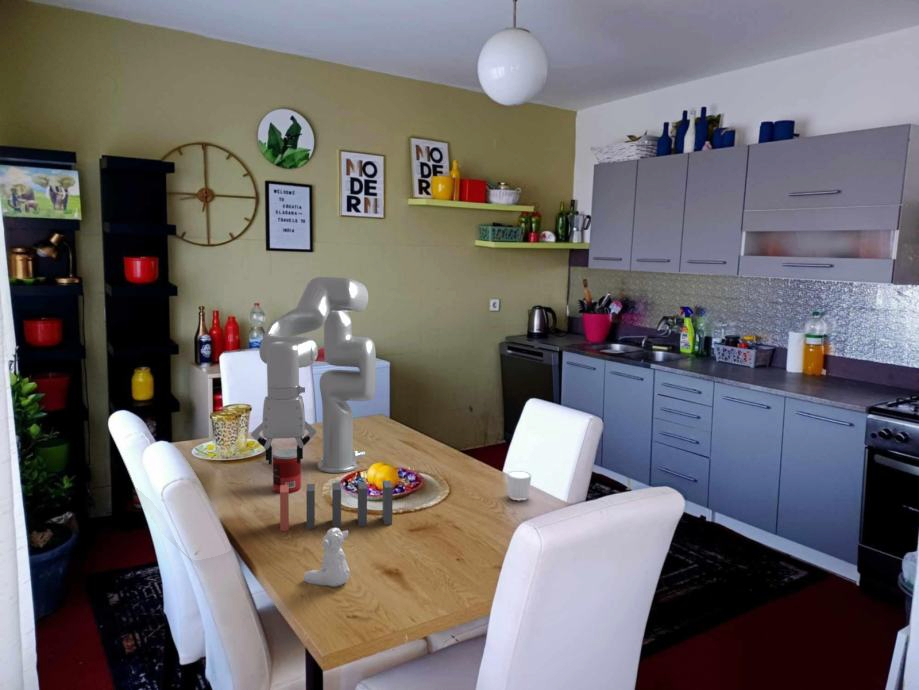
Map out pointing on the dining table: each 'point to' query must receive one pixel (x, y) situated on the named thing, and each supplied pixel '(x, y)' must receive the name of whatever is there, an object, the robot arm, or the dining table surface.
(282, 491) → the red domino
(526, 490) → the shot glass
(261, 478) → the dining table surface
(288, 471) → the canned food
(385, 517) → the domino
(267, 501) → the dining table surface
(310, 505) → the domino
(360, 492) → the domino
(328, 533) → the sitting furry creature
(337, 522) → the domino
